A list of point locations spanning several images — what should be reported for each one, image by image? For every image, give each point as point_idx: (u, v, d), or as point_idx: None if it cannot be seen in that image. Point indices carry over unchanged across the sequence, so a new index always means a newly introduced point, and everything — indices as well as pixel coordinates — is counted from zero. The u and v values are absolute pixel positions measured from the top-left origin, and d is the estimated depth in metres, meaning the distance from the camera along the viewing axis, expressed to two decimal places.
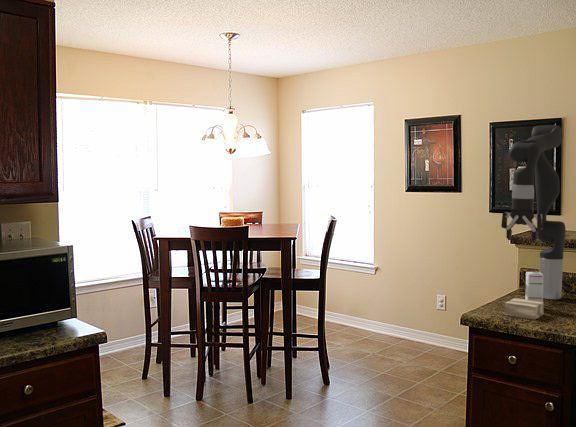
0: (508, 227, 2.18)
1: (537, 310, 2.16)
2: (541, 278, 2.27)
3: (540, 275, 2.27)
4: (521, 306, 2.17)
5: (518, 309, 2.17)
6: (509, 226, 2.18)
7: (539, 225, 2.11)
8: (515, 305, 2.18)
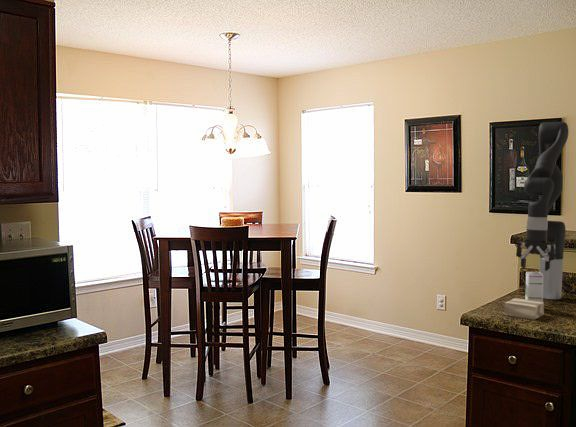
0: (523, 256, 2.31)
1: (537, 310, 2.16)
2: (541, 278, 2.27)
3: (540, 275, 2.27)
4: (521, 306, 2.17)
5: (517, 309, 2.17)
6: (523, 255, 2.31)
7: (552, 255, 2.24)
8: (515, 305, 2.18)
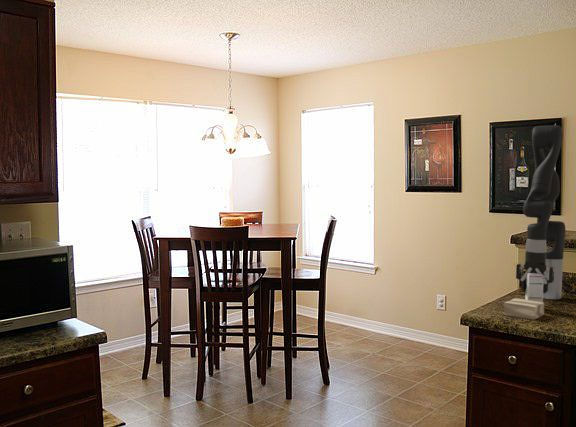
0: (522, 278, 2.32)
1: (536, 310, 2.16)
2: None
3: (540, 275, 2.27)
4: (520, 306, 2.17)
5: (517, 308, 2.18)
6: (523, 277, 2.31)
7: (550, 278, 2.25)
8: (514, 305, 2.18)
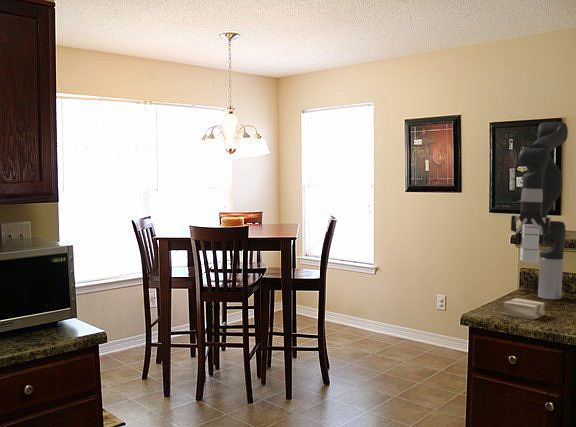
0: (517, 230, 2.23)
1: (536, 310, 2.16)
2: (537, 229, 2.18)
3: (536, 226, 2.19)
4: (520, 306, 2.17)
5: (516, 308, 2.18)
6: (518, 229, 2.23)
7: (546, 228, 2.17)
8: (514, 305, 2.18)
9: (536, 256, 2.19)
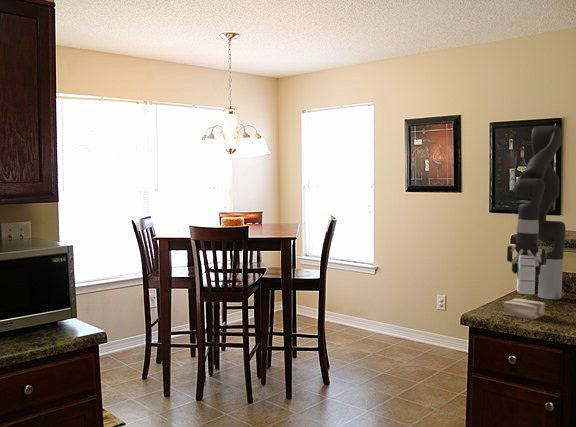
0: (514, 261, 2.22)
1: (536, 310, 2.16)
2: (533, 260, 2.17)
3: (532, 257, 2.17)
4: (519, 306, 2.17)
5: (516, 308, 2.18)
6: (514, 260, 2.21)
7: (543, 260, 2.15)
8: (513, 305, 2.19)
9: (533, 288, 2.18)
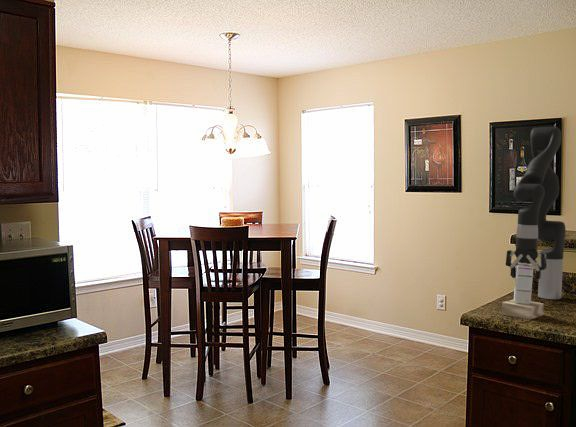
0: (512, 265, 2.22)
1: (533, 311, 2.16)
2: (531, 270, 2.17)
3: (530, 267, 2.17)
4: (517, 306, 2.17)
5: (514, 309, 2.18)
6: (513, 264, 2.22)
7: (543, 265, 2.15)
8: (511, 305, 2.19)
9: (529, 298, 2.18)
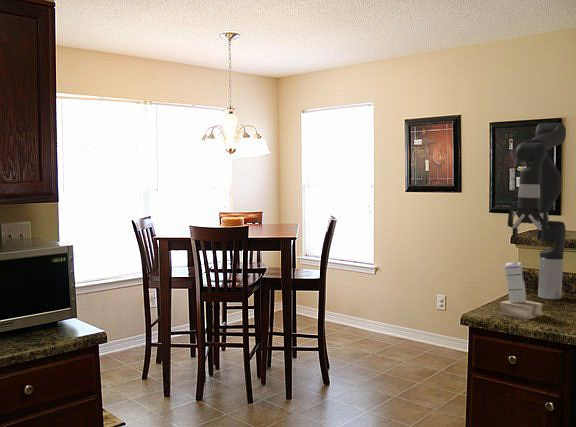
0: (514, 226, 2.21)
1: (531, 311, 2.15)
2: (518, 268, 2.18)
3: (517, 265, 2.18)
4: (515, 306, 2.17)
5: (512, 308, 2.18)
6: (515, 225, 2.21)
7: (545, 224, 2.14)
8: (509, 305, 2.19)
9: (523, 296, 2.19)
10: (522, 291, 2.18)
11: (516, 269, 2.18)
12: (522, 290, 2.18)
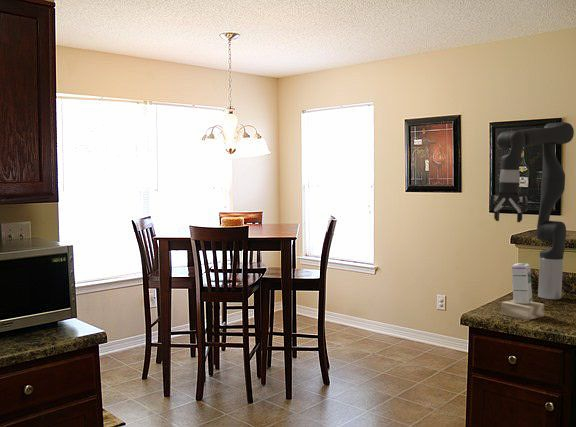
0: (496, 209, 2.36)
1: (532, 311, 2.15)
2: (524, 270, 2.17)
3: (523, 266, 2.17)
4: (516, 306, 2.17)
5: (513, 309, 2.18)
6: (497, 208, 2.36)
7: (524, 206, 2.29)
8: (510, 305, 2.19)
9: (527, 297, 2.17)
10: (527, 292, 2.17)
11: (522, 270, 2.17)
12: (527, 291, 2.17)
